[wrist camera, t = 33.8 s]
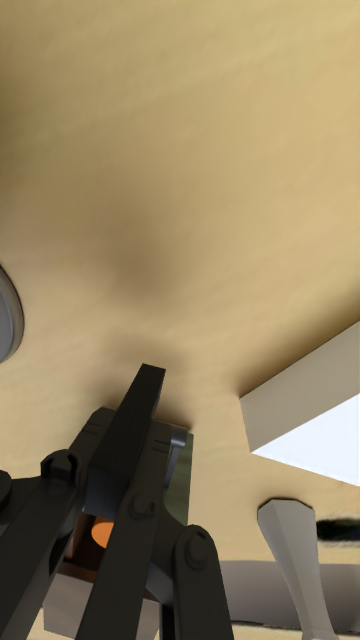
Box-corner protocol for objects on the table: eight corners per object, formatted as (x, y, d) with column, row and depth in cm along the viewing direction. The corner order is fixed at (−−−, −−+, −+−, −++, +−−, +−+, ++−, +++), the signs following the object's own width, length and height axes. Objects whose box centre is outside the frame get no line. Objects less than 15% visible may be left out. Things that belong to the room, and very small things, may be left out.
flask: (300, 537, 30) (343, 673, 20) (248, 523, 30) (267, 651, 21) (323, 506, 27) (385, 644, 18) (267, 490, 27) (298, 619, 18)
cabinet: (98, 457, 29) (41, 568, 19) (182, 479, 29) (168, 606, 19) (91, 516, 34) (43, 630, 24) (163, 536, 33) (144, 660, 23)
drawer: (111, 362, 22) (56, 432, 14) (208, 387, 22) (210, 474, 14) (97, 480, 29) (54, 573, 21) (171, 501, 29) (157, 604, 21)
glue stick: (130, 443, 25) (103, 516, 18) (162, 461, 25) (146, 538, 18) (114, 463, 26) (83, 537, 19) (145, 480, 26) (124, 558, 20)
